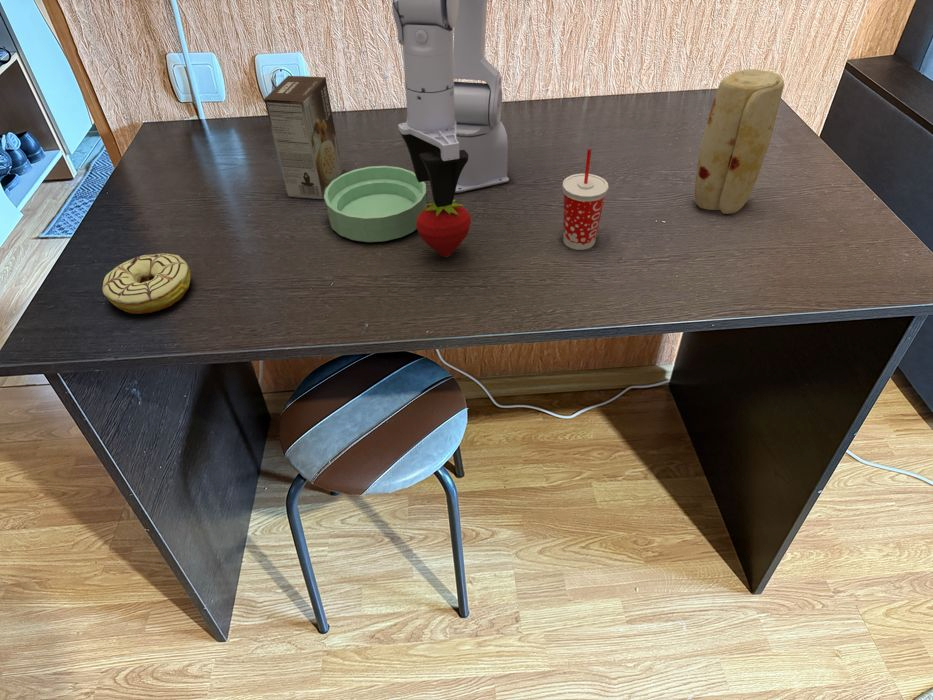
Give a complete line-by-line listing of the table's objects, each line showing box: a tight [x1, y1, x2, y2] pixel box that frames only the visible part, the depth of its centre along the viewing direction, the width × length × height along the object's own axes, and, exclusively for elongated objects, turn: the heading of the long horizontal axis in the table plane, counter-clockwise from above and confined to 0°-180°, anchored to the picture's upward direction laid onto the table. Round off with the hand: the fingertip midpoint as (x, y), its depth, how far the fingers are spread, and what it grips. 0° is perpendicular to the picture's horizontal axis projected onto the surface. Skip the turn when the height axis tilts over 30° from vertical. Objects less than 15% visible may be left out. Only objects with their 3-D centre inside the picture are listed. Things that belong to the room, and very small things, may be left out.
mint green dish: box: [323, 165, 429, 243], centre depth 98 cm, size 15×15×4 cm
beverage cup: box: [562, 148, 609, 251], centre depth 89 cm, size 6×6×14 cm
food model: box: [694, 68, 785, 215], centre depth 92 cm, size 10×7×20 cm
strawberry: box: [416, 199, 472, 258], centre depth 88 cm, size 6×8×10 cm
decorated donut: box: [102, 253, 192, 315], centre depth 85 cm, size 10×11×4 cm
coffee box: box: [263, 75, 343, 200], centre depth 101 cm, size 9×6×16 cm
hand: (434, 192), depth 85 cm, fingers open, 7 cm apart
